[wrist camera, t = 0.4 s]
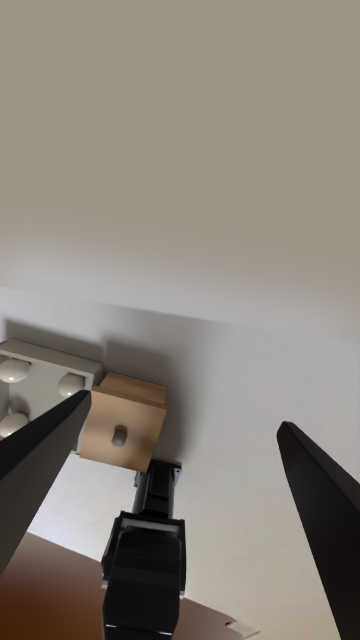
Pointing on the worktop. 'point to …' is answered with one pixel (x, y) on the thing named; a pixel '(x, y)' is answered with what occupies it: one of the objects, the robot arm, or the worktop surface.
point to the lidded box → (124, 422)
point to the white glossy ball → (14, 370)
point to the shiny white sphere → (70, 384)
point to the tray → (42, 380)
